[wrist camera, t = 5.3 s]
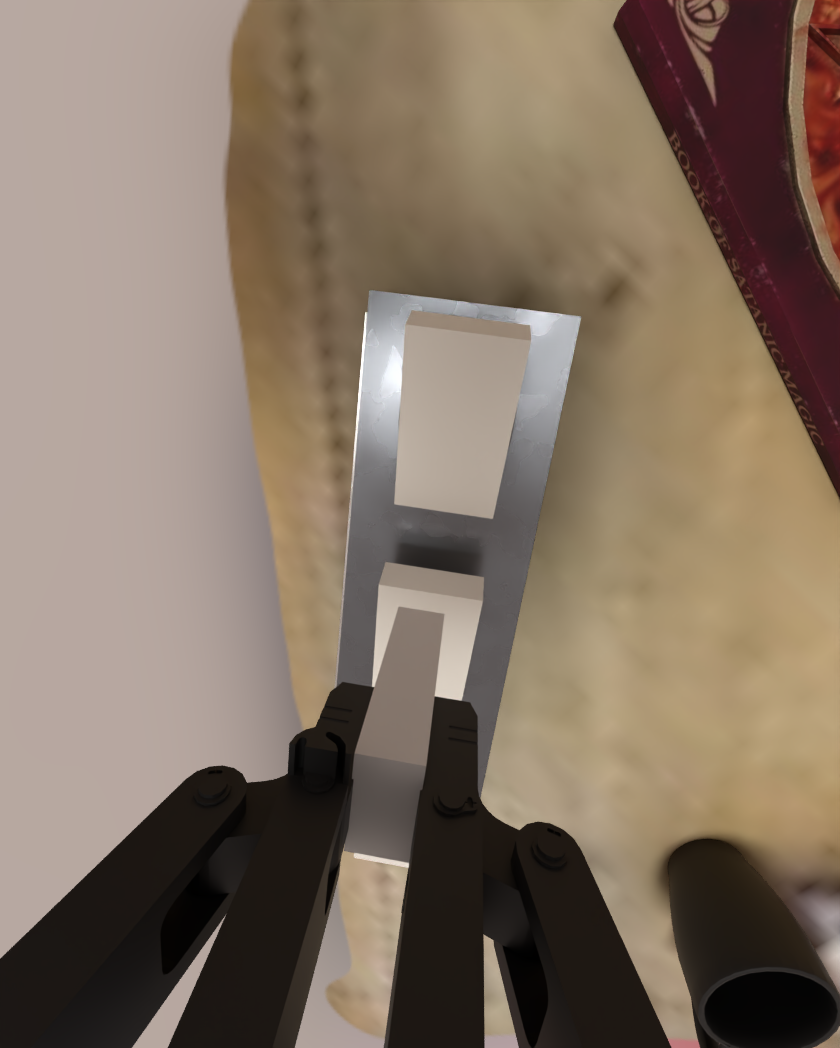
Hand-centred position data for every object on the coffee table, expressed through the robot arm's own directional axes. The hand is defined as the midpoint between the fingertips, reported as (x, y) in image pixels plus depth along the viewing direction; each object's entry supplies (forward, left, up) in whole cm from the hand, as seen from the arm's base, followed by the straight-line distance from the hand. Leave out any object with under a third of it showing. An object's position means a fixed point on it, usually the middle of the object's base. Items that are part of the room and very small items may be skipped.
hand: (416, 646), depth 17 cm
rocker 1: (-7, 0, -12) cm, 13 cm away
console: (+6, 0, -17) cm, 18 cm away
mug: (+28, +24, -17) cm, 40 cm away
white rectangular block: (+5, 0, -12) cm, 13 cm away
